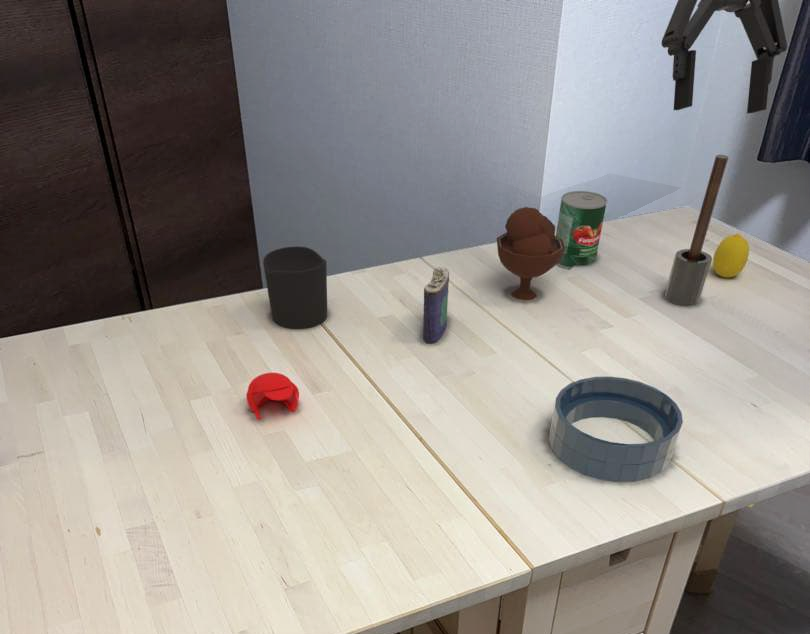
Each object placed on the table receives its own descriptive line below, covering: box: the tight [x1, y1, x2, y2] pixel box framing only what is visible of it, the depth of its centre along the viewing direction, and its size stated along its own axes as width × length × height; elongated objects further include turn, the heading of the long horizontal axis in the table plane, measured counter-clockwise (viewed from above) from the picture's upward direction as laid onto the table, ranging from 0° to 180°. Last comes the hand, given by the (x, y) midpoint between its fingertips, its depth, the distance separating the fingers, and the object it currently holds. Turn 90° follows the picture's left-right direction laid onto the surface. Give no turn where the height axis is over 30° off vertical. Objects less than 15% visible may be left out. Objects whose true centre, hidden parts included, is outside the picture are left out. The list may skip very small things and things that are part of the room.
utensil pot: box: [664, 248, 713, 307], centre depth 122 cm, size 6×6×8 cm
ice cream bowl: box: [496, 206, 565, 302], centre depth 120 cm, size 11×11×15 cm
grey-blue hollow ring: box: [548, 376, 684, 483], centre depth 93 cm, size 15×15×6 cm
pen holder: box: [262, 246, 328, 330], centre depth 115 cm, size 9×9×10 cm
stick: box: [687, 154, 729, 261], centre depth 117 cm, size 2×2×22 cm
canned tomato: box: [555, 190, 608, 270], centre depth 133 cm, size 8×8×11 cm
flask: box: [422, 266, 450, 345], centre depth 112 cm, size 9×3×11 cm, turn 166°
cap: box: [246, 372, 300, 421], centre depth 97 cm, size 8×6×6 cm
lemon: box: [712, 233, 750, 279], centre depth 129 cm, size 6×6×8 cm
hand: (720, 110), depth 104 cm, fingers open, 13 cm apart
